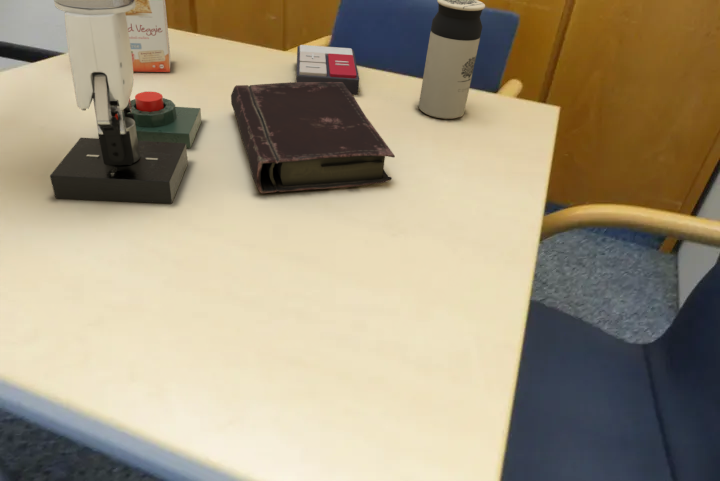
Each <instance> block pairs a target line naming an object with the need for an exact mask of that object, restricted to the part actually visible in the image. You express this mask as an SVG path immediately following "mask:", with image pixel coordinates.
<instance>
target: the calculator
mask: <svg viewBox="0 0 720 481" xmlns="http://www.w3.org/2000/svg"><path fill="white" fill-rule="evenodd" d="M296 48H297V51H296V74H295V75H296V76H295V77H296V78H295V79H296V80H295V82H343V84H344V85H345V86H346V87H347V89H348V90H349V91H350V93H351V94H352V95H353V96H358V94H359V85H360V77H359V70H358V66H357V60H356V55H355V51H354V49H352V48H350V47H336V46H323V45H310V44H308V45H307V44H300V45H298V46H297V47H296Z"/></svg>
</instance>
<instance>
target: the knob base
mask: <svg viewBox="0 0 720 481" xmlns="http://www.w3.org/2000/svg"><path fill="white" fill-rule="evenodd" d="M138 145H139V151H140V159H139V160H138V161H136V162H135V163H133V164H132V165H121V166H119V165H105V164H104V161H103V156H102V151H101V146H100V141H99V137H96V138H95V137H79V139H78V140H77V141H76V143H75V144H74V145H73V146H72V148H70V150H69V151H68V152H67V154H66V155H65V156H64V158H63V159H62V160H61V161H60V163H58V165H57V166H56V167H55V168H54V169H53V171H52V172H51V174H50V175H49V178H50V182H51V186H52V190H53V193H54V198H55V199H56V200H57V199H59V200H81V201H82V200H83V201H101V202H102V201H103V202H104V201H106V202H124V203H125V202H127V203H147V204H149V203H151V204H169V205H170V204H171V205H172V204H173V201H174V199H175V197H176V194H177V192H178V189H179V187H180V184H181V182H182V180H183V177H184V175H185V172H186V170H187V167H188V164H189V161H188V151H187V149H188V148H186V143H170V142H152V141H138Z"/></svg>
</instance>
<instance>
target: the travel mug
mask: <svg viewBox="0 0 720 481" xmlns="http://www.w3.org/2000/svg"><path fill="white" fill-rule="evenodd" d="M436 1H437V4H438V6H437V7H438V8H437V10H438V11H437V12H436V14H435V16H434V17H433V18H432V21H431V25H430V26H431V27H430V32H429V33H430V34H429V38H428V45H427V51H426V58H425V64H424V70H423V76H422V82H421V89H420V93H419V101H418V109H419V110H420V111H421V112H422V113H424V114H425V115H427V116H430V117H432V118H436V119H442V120H450V119H451V120H452V119H457V118H461V117H463V115H464V114H465V111H466V107H467V106H466V105H467V101H468V96H469V92H470V87H471V83H472V79H473V74H474V70H475V69H474V68H475V63H476V60H477V54H478V51H479V50H478V49H479V45H480V41H481V35H482V31H483V24H482V20H481V16H482V13H483V11H484V9H486V4H485V3H484V2H482V1H480V0H436Z"/></svg>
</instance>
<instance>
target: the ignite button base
mask: <svg viewBox="0 0 720 481" xmlns="http://www.w3.org/2000/svg"><path fill="white" fill-rule="evenodd" d="M130 101H131V106H132V113H127V114H134V120H135V125H136V132H137V138H138V141H152V142H170V143H186V149H191V147H193V146H192V145H193V143H194V140H195V138H196V136H197V133H198V131H199V129H200V126H201V124H202V113H201V112H202V111H201V110H202V109H201V108H200V107H189V106H188V107H186V106H176V104H175V103H174V102H173V101H172V100H171V99H168V98H165V97H163V104H164V109H161V110H159V111H153V112H146V111H140V110H137V107H136V101H135V98H134V99H130Z"/></svg>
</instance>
